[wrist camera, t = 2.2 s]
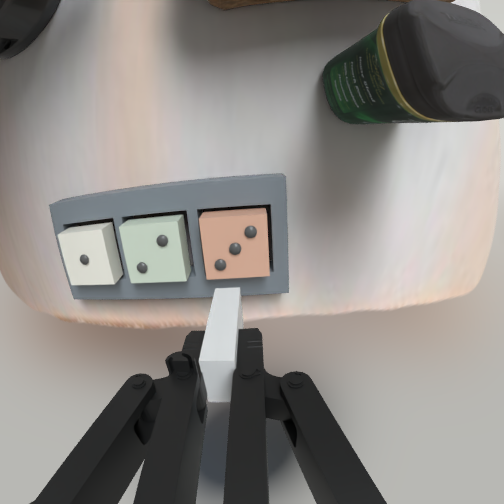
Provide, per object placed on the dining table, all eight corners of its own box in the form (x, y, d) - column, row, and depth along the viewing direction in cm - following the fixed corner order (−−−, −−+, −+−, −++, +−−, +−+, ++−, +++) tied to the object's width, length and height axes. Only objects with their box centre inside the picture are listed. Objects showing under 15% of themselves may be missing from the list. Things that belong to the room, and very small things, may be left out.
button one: (81, 275, 31) (70, 286, 28) (69, 227, 29) (56, 235, 26) (123, 274, 31) (114, 285, 28) (112, 222, 28) (100, 229, 26)
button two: (139, 272, 31) (130, 284, 28) (128, 219, 28) (117, 227, 26) (191, 270, 30) (186, 282, 28) (183, 214, 28) (176, 221, 26)
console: (84, 288, 34) (73, 299, 31) (62, 199, 30) (49, 204, 27) (285, 279, 34) (288, 292, 31) (282, 173, 29) (285, 176, 26)
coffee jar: (332, 131, 28) (436, 126, 10) (313, 60, 25) (388, -24, 8) (410, 121, 27) (539, 125, 10) (394, 55, 24) (508, 8, 7)
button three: (210, 268, 30) (206, 280, 28) (203, 212, 28) (198, 219, 26) (268, 265, 30) (269, 277, 28) (265, 207, 28) (266, 214, 26)
